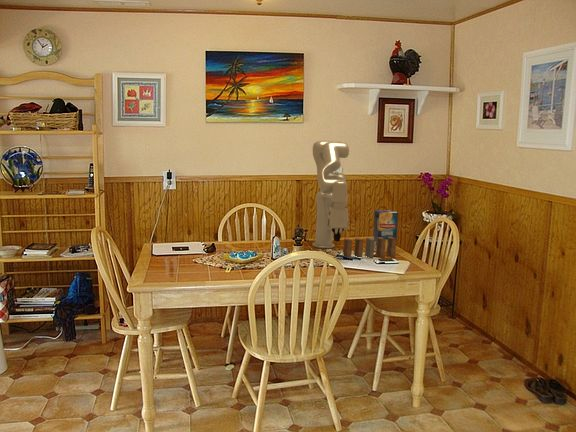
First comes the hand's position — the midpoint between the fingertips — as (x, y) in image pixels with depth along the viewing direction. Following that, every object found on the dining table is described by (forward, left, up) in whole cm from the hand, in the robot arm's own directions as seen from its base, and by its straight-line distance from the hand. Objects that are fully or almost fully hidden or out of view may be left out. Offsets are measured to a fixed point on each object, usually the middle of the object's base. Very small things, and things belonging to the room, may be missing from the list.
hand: (336, 240), depth 282 cm
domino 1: (0, +7, -10) cm, 12 cm away
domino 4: (0, +26, -10) cm, 28 cm away
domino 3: (0, +20, -10) cm, 22 cm away
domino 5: (0, +33, -10) cm, 34 cm away
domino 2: (0, +13, -10) cm, 16 cm away
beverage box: (-13, +36, -10) cm, 39 cm away
